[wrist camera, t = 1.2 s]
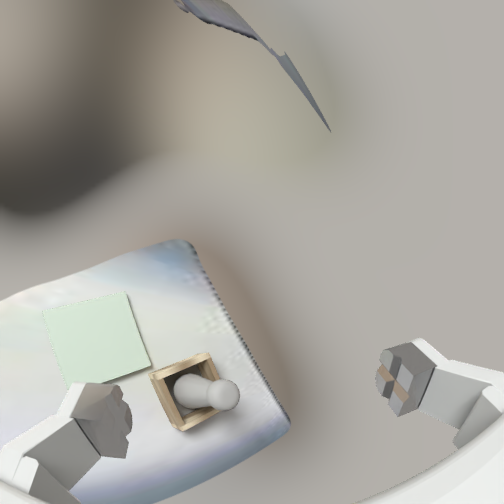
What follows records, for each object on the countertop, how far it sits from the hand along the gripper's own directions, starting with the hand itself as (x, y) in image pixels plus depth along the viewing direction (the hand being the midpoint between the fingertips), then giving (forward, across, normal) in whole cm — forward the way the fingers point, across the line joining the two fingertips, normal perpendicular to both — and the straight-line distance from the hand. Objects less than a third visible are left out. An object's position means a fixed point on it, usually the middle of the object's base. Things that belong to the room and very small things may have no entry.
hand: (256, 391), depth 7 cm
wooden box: (+28, +9, +26) cm, 39 cm away
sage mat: (+27, +20, +15) cm, 37 cm away
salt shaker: (+28, +9, +26) cm, 39 cm away
